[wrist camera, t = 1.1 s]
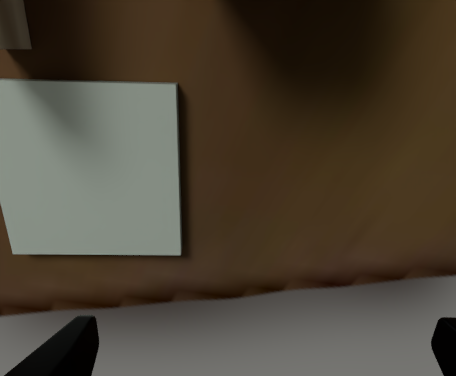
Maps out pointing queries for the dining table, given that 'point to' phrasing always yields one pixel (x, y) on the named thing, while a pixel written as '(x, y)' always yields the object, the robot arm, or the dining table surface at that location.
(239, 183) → the dining table surface
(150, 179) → the tile
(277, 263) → the dining table surface
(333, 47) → the dining table surface
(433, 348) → the robot arm
